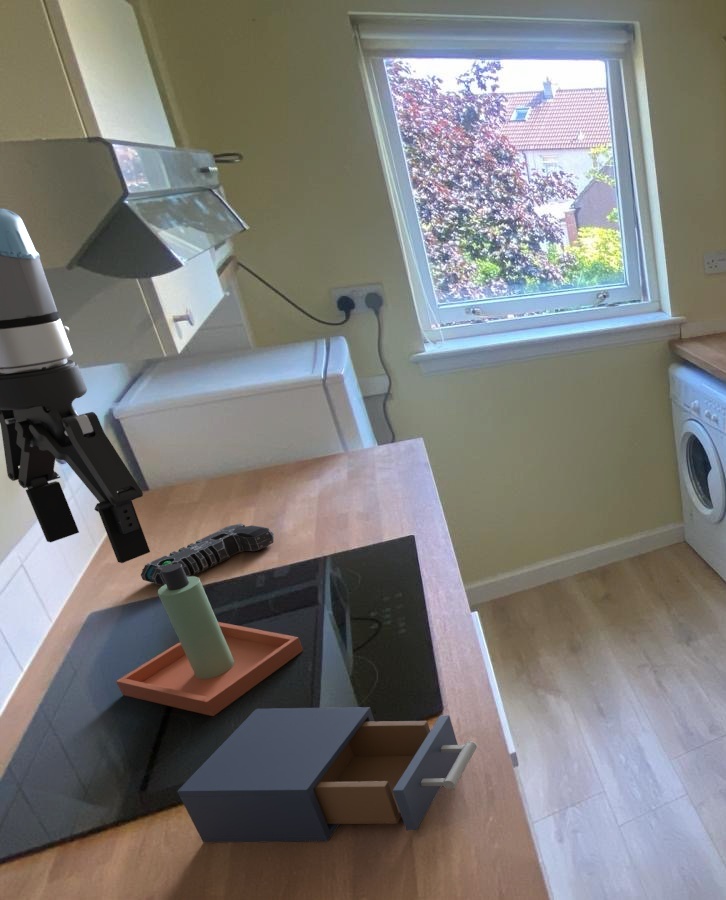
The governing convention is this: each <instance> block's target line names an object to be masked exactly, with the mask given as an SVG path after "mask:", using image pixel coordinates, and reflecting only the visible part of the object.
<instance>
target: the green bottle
mask: <svg viewBox="0 0 726 900" xmlns="http://www.w3.org/2000/svg"><path fill="white" fill-rule="evenodd" d="M160 572H161V574H162V576H163V579H164V581H165V583H166V584H165V585H163V586H162V585H161V586H160V587H159V588H158V590H157V595H158V597H159V599H160V601H161V603H162V606H163V609H164V610H165V612H166V615H167V617H168V619H169V621H170V623H171V625H172V627H173V630H174V632H175V634H176V636H177V639H178V641H179V642H180V643H181V645H182V647H183V650H184V652H185V654H186V656H187V658H188V661H189V663H190V665H191V667H192V669H193V672H194V674H195V676H196V678H198V679H210V678H214V677H217V676H219V675H221V674H223V673H225V672H227V671H228V670H229V669H230V668H231V667H232V666H233V665H234V659H233V657H232V655H231V652H230V650H229V647H228V645H227V643H226V640H225V638H224V636H223V633H222V631H221V629H220V626H219V624H218V622H219V621H218V620H217V617H216V615H215V612H214V610H213V608H212V605H211V603H210V601H209V598H208V595H207V594H206V591H205V588H204V586H203V584H202V582H201V579H200V577H197V576H191V577H187V576H186V574H185V572H184V569H183V567H182V565H181V564H179V563H177V564H171V565H168V566H166V567H164V568H162V569H161V571H160Z"/></svg>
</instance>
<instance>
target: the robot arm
mask: <svg viewBox="0 0 726 900" xmlns="http://www.w3.org/2000/svg"><path fill="white" fill-rule="evenodd" d="M69 334H70V327H68V326H67V325H63V322H62V320H61V315H60V313H59V311H58V309H57V306H56V303H55V299H54V297H53V294H52V291H51V288H50V285H49V282H48V280H47V277H46V273H45V270H44V268H43V265H42V261H41V255H40V253H39V252H38V251H37V250H36V248H35V246H34V243H33V241H32V238H31V237H30V234H29V232H28V230H27V228H26V225H25V223H24V221H23V219H22V218H21V216H20V215H19V214H17V213H16V212H14V211H13V210H10V209H7V208H1V207H0V429H1V437H2V444H3V452H4V460H5V467H6V472H7V473H6V474H7V477H8V479H9V480H11V481H12V482H15V481H17V483H18V484H19V486H21V488H23V489H25V492H26V494H27V497H28V500H29V502H30V504H31V507H32V509H33V512H34V514H35V516H36V519H37V521H38V524H39V526H40V528H41V531H42V533H43V536H44V538H45V540H46V542H48V543H53V542H56V541H59V540H62V539H65V538H68V537H71V536H73V535H76V534H79V533H80V531H79V528H78V526H77V523H76V521H75V517H74V516H73V513H72V511H71V508H70V506H69V503H68V500H67V498H66V495H65V493H64V489H63V488H62V485H61V482H60V481H56V480H58V479H61V476H60V475H59V474H58V472H57V471H55V465H56V464H55V463H56V460H59V461H64V462H66V464H67V465H68V466H69V468H70V469H71V470H72V471H73V472H74V473H75V474H76V476H77V477H78V478H79V479H80V481H81V482H82V483H83V484H84V485H85V487H86V488H87V489H88V490H89V492H90V493H91V494H92V495H93V497H95V499H96V501H98V503H96V504H95V506H94V511H96V512H98V514H99V517H100V519H101V522H102V524H103V527H104V530H105V532H106V535H107V538H108V540H109V544H110V545H111V548H112V551H113V553H114V556H115V558H116V561H117V563H120V564H125V563H127V562H129V561H132V560H134V559H136V558H139V557H141V556H144V555H146V554H149V553H151V550H150V547H149V544H148V541H147V539H146V536H145V533H144V531H143V528H142V525H141V523H140V519H139V517H138V515H137V511H136V509H135V505H134V503H133V501H135V500H136V499H139V498H142V497H144V493H143V490H142V489H141V487H140V485H138V483H137V481H136V480H135V478H134V476H133V475H132V473H131V472H130V470H129V469H128V467H127V466H126V464H125V462H124V461H123V460H122V458H121V456H120V455H119V453H118V452H117V450H116V448H115V446H114V445H113V444H112V443H111V441H110V439H109V438H108V436H107V434H106V433H105V432H104V428H103V426H102V424H101V422H100V419H99V417H98V415H97V414H96V413H95V412H93V411H90V412H86V413H81V414H78V412H77V410H76V408H75V407H74V405H73V402H74V401H75V400H76V399H79V398H82V397H83V396H85V395H86V394H87V391H88V388H87V385H86V383H85V380H84V378H83V375H82V372H81V369H80V366H79V364H78V363H77V362H75V361H74V360H71V359H69V358H70V357H72V356H73V355H74V352H73V349H72V346H71V344H70V341H69V339H68V336H67V335H69ZM54 480H55V481H54Z"/></svg>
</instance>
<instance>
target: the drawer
mask: <svg viewBox="0 0 726 900" xmlns="http://www.w3.org/2000/svg"><path fill="white" fill-rule="evenodd" d="M476 750H477V744H476V743H475V742H474V741H469V740H468V741H467V742H465V744H458V741H457V737H456V734H455V730H454V727H453V724H452V720H451V716H450V715H449V714H446V715H445V714H444V715H443V714H442V715H439V717H438V719H436V721H435V723H434V724H433V725H432V727H431V729H430V725H429V722H428V721H427V720H397V721H396V720H395V721H394V720H393V721H390V720H389V721H388V720H387V721H385V720H383V721H375V722H363V724H362V725H361V726H360V728H359V729H358V730H357V732H356V733H355V734H354V736H353V737H352V738H351V740H350V741H349V742H348V744H347V745H346V746H345V748H344V749H343V750H342V752H341V753H340V754H339V756H338V757H337V758H336V760H335V761H334V762H333V763H332V765H331V766H330V767H329V769H328V770H327V771H326V773H325V774H324V775H323V777H322V778H321V779H320V781H319V782H318V783H317V785H316V786H315V787H314V789H313V791H314V793H315V796H316V798H317V800H318V803H319V805H320V808H321V810H322V813H323V815H324V818H325V820H326V823H327V824H339V825H346V824H347V825H349V824H350V825H352V824H353V825H354V824H355V825H357V824H359V825H361V824H363V825H364V824H365V825H366V824H399V821H400V820H402V822H403V825H404V827H405V830H406V831H417V830H418V828H419V827H420V825H421V823H422V821H423V819H424V817H425V815H426V814H427V812H428V810H429V809H430V808H431V804H433V801H434V800H435V798H436V796H437V795H438V793H439V791H440V790H441V787H444V789H446V790H450V791H451V790H454V789H455V788H456V787H457V784H458V783H459V781H460V779H461V777H462V776H463V774H464V772H465V770H466V768H467V766H468V764H469V763H470V761H471V758H472V756H473V755H474V753H475V751H476Z"/></svg>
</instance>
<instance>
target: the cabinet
mask: <svg viewBox="0 0 726 900" xmlns="http://www.w3.org/2000/svg"><path fill="white" fill-rule="evenodd" d="M363 722H376V721H375V719H374V716H373V713H372V710H371V707H370V706H367V707H366V706H363V707H362V706H361V707H359V706H358V707H357V706H356V707H351V706H350V707H291V708H290V707H287V708H286V707H285V708H282V707H281V708H276V707H275V708H255V709H254V710H253V711H252V712H251V713H250V714H249V715H248V717H247V718H246V719H245V720H244V721H243V722H242V723H241V724H240V725H239V726H238V727H237V728H236V729H235V730H234V731H233V732H232V733H231V734H230V736H228V737H227V739H226V740H225V741H223V742H222V744H221V745H220V746H219V747H218V748H217V749H216V750H215V751H214V752H213V753H212V754H211V755H210V756H209V757H208V758H207V759H206V760H205V761H204V763H202V764H201V766H200V767H199V768H197V770H195V772H194V773H193V774H192V775H190V777H189V778H188V779H187V780H186V781H185V782H184V783H183V785H181V787H180V788H179V789H177V791H176V792H177V794H178V796H179V798H180V800H181V802H182V804H183V805H184V808H185V810H186V811H187V814H188V816H189V818H190V819H191V821H192V823H193V825H194V827H195V829H196V831H197V834H198V835H199V838H200V840H201V842H202V843H291V842H293V843H296V842H297V843H298V842H299V843H303V842H306V843H307V842H308V843H309V842H329V841H330V839H331V837H332V836H333V835H334V833H335V831H336V830H337V828H338V827H339V826H340V824H327V823H326V820H325V818H324V815H323V813H322V810H321V808H320V805H319V803H318V800H317V798H316V796H315V793H314V791H313V789H314V787H315V786H316V785H317V783H318V782H319V781H320V779H321V778H322V777H323V775H324V774H325V773H326V771H327V770H328V769H329V767H330V766H331V765H332V763H333V762H334V761H335V760H336V758H337V757H338V756H339V754H340V753H341V752H342V750H343V749H344V748H345V746H346V745H347V744H348V742H349V741H350V740H351V738H352V737H353V736H354V734H355V733H356V732H357V730H358V729H359V728H360V726H361V725H362V724H363Z"/></svg>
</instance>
